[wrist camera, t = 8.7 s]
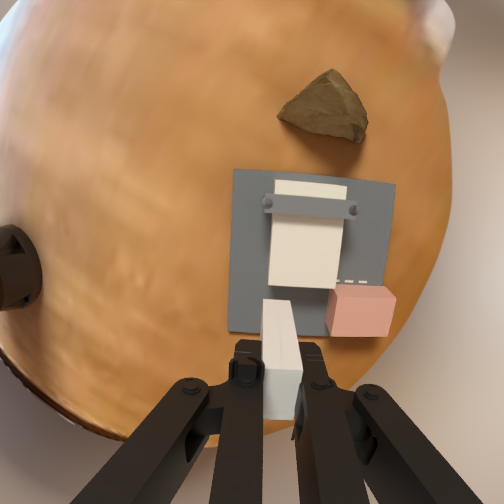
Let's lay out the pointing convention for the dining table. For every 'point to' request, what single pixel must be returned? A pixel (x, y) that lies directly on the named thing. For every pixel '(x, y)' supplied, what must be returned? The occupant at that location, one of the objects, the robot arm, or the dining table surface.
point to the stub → (359, 311)
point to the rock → (328, 108)
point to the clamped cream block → (306, 232)
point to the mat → (258, 246)
